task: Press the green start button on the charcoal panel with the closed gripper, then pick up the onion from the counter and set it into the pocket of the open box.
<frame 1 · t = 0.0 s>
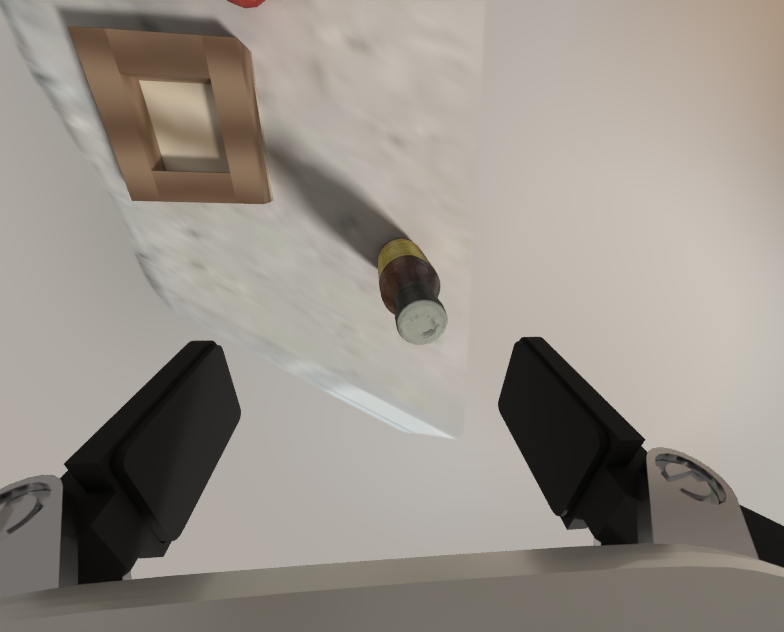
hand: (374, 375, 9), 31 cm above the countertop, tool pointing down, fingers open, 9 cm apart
sauce bottle: (399, 257, 40), on the countertop
open box: (197, 130, 31), on the countertop
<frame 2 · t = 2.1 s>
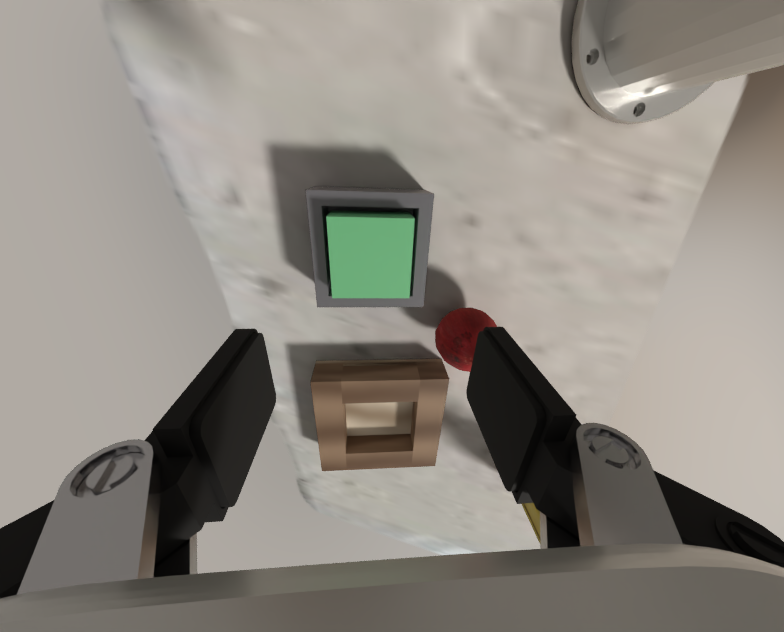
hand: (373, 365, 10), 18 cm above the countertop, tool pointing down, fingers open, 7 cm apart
onion: (455, 319, 30), on the countertop
start button: (371, 254, 22), point 4 cm above the countertop, slide at 0.0 cm
button housing: (370, 242, 25), on the countertop
sauce bottle: (527, 467, 43), on the countertop
open box: (379, 405, 35), on the countertop
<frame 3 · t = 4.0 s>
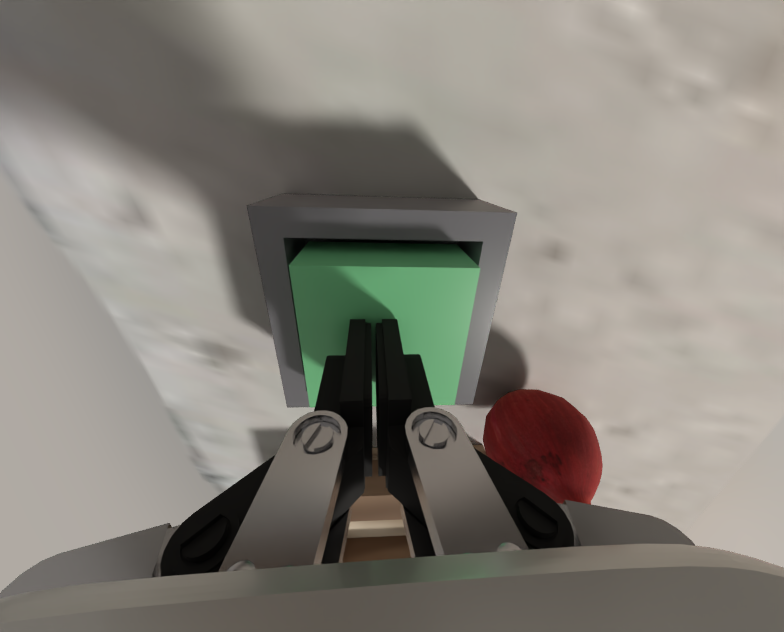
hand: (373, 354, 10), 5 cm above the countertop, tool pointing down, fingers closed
onion: (509, 394, 20), on the countertop
start button: (383, 325, 12), point 4 cm above the countertop, slide at 0.1 cm, touching gripper
button housing: (381, 287, 15), on the countertop
open box: (389, 499, 25), on the countertop
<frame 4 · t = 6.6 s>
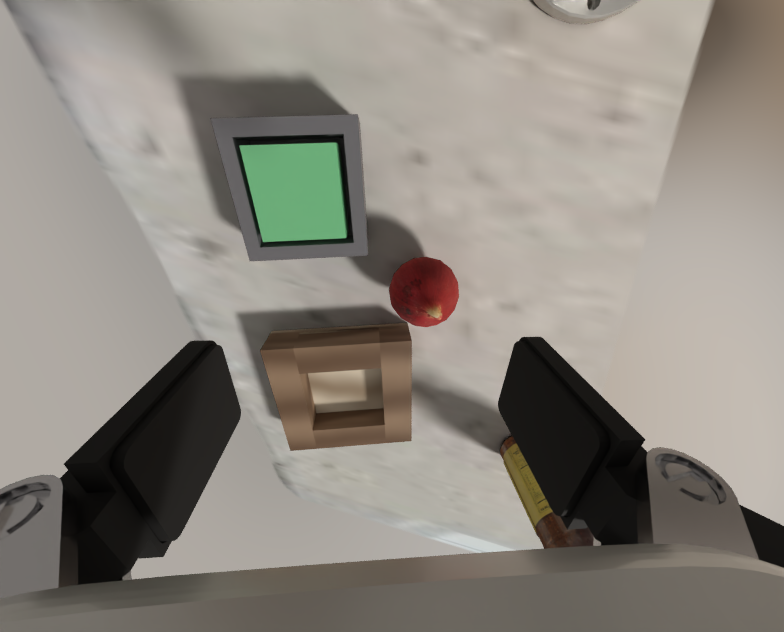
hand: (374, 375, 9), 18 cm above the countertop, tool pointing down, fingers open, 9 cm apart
onion: (416, 276, 27), on the countertop
start button: (301, 193, 20), point 3 cm above the countertop, slide at 1.0 cm
button housing: (309, 190, 23), on the countertop
sauce bottle: (518, 442, 40), on the countertop
open box: (347, 379, 33), on the countertop
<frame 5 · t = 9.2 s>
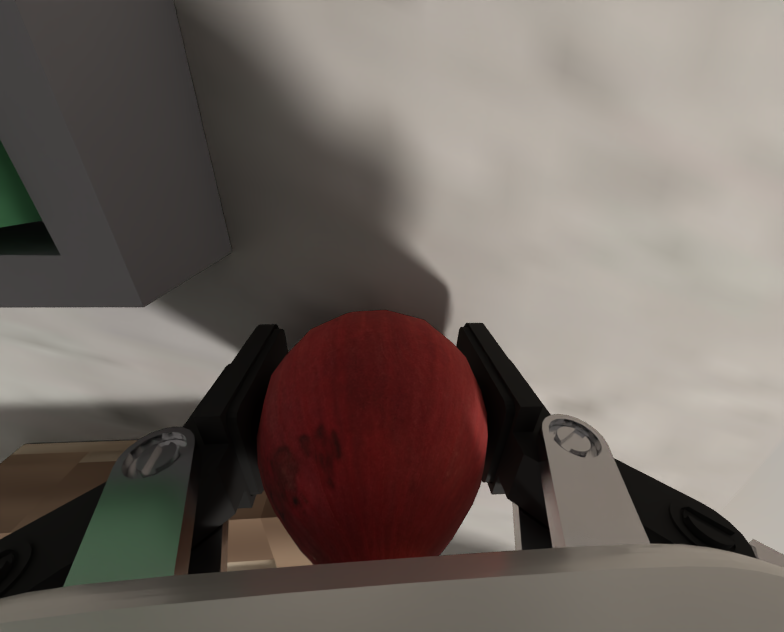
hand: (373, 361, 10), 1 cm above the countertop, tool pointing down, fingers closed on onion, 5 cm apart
onion: (373, 339, 11), on the countertop, touching gripper
open box: (231, 522, 16), on the countertop
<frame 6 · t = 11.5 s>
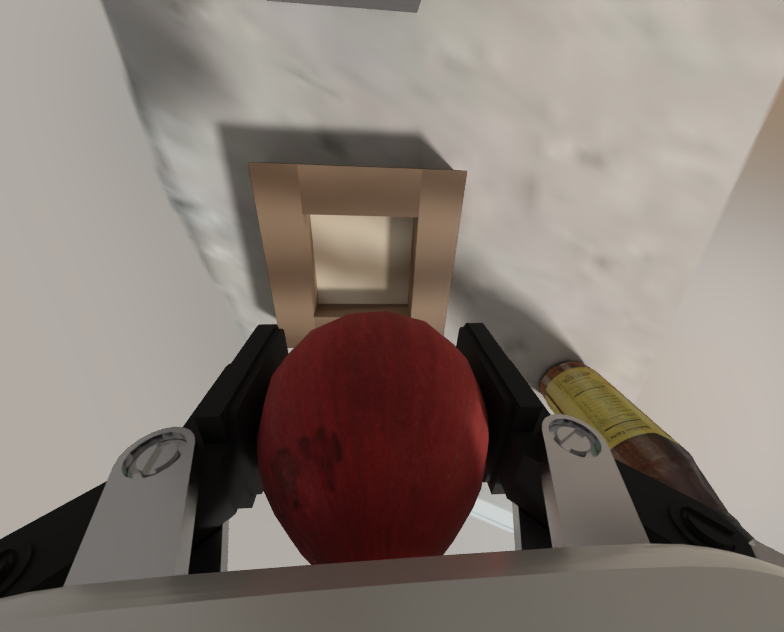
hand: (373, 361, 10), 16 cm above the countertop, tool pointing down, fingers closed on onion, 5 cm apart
onion: (373, 340, 11), point 15 cm above the countertop, touching gripper
sauce bottle: (562, 376, 33), on the countertop
open box: (363, 257, 24), on the countertop
when the fingers open (4 cm above the countertop, at t = 14.3 s): onion drops 1 cm, resting on open box.
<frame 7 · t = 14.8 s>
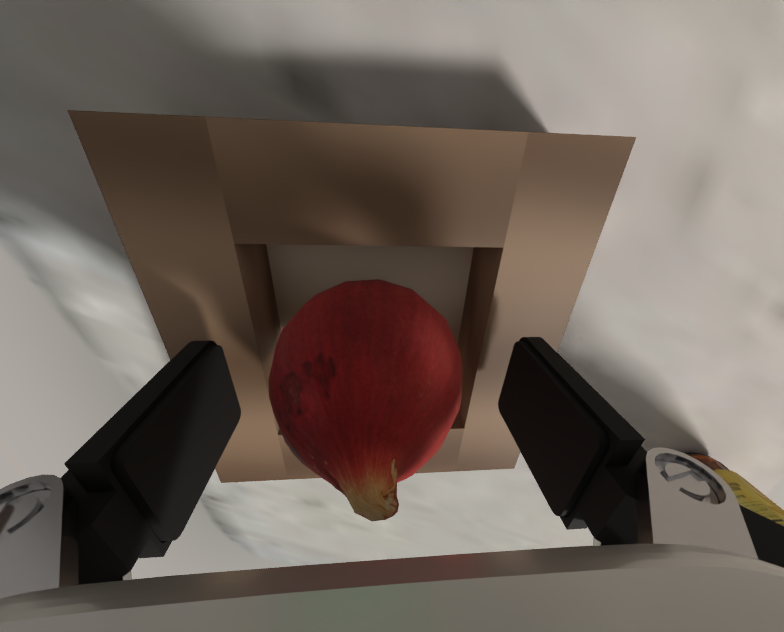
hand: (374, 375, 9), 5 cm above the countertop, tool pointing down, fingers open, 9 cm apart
onion: (371, 317, 13), point 1 cm above the countertop, touching open box
sauce bottle: (670, 470, 22), on the countertop
open box: (372, 312, 13), on the countertop
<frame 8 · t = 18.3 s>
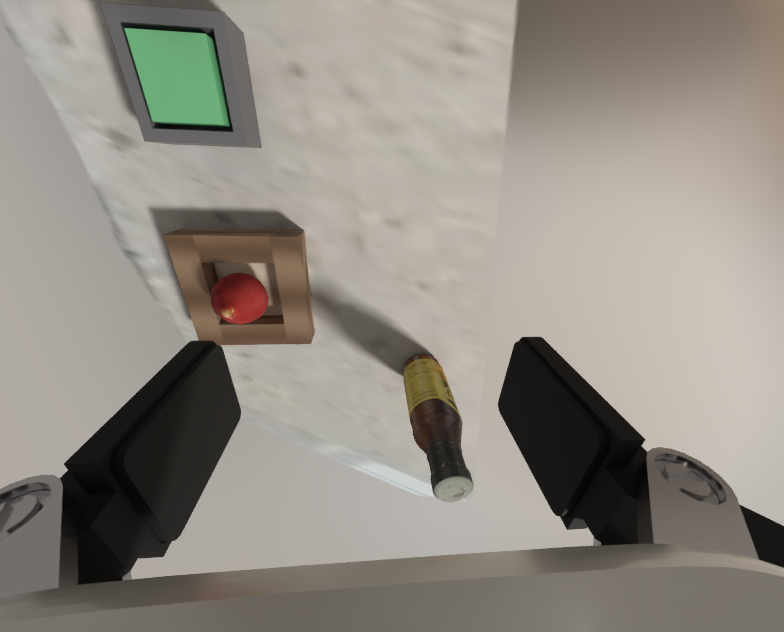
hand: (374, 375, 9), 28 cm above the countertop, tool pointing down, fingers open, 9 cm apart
onion: (252, 285, 36), point 1 cm above the countertop, touching open box
start button: (187, 84, 25), point 3 cm above the countertop, slide at 1.0 cm
button housing: (205, 92, 27), on the countertop
sauce bottle: (421, 366, 45), on the countertop
open box: (255, 284, 37), on the countertop
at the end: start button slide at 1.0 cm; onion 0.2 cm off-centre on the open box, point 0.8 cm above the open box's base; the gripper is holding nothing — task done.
